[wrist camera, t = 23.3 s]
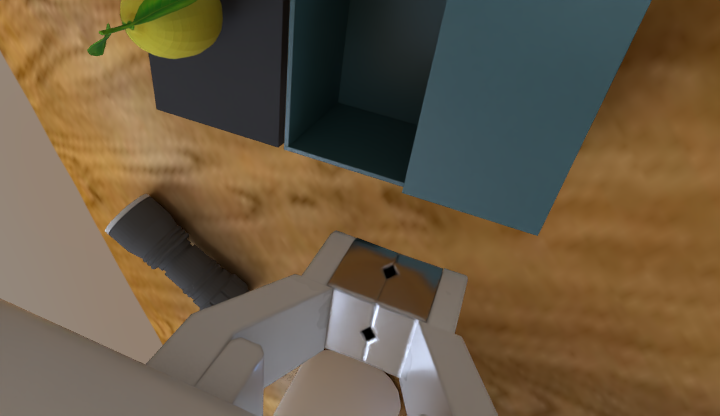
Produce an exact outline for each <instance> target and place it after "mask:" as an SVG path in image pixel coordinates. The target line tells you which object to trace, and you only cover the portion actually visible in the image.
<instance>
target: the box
mask: <svg viewBox="0 0 720 416" xmlns="http://www.w3.org/2000/svg"><path fill="white" fill-rule="evenodd" d="M446 2H447V0H290V16H289V41H288V65H287V90H286V115H285V140H284V150H288V151H291V152H294V153H297V154H300V155H303V156H307V157H310V158H313V159H316V160H319V161H323V162H326V163H329V164H332V165H335V166H338V167H342V168H345V169H348V170H351V171H354V172H357V173H361V174H364V175H367V176H370V177H373V178H377V179H380V180H383V181H386V182H389V183H392V184H396V185H399V186H402V187H404V183H405V178H406V174H407V170H408V165H409V161H410V157H411V152H412V148H413V144H414V140H415V135H416V131H417V127H418V122H419V118H420V114H421V109H422V105H423V101H424V97H425V92H426V88H427V84H428V79H429V75H430V71H431V66H432V62H433V58H434V54H435V49H436V45H437V41H438V36H439V32H440V28H441V23H442V19H443V15H444V10H445V6H446Z"/></svg>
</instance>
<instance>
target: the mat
mask: <svg viewBox="0 0 720 416" xmlns="http://www.w3.org/2000/svg"><path fill="white" fill-rule="evenodd" d="M220 2H221V5H222V15H223V22H222V29H221V32H220V34H219V36H218V37H217V39H216V41H215V42H214V43H213V45H211V46H210V47H209V48H207V49H206V50H204V51H203V52H201V53H200V54H197V55H194V56H190V57H184V58H178V59H169V58H164V57H159V56H156V55H153V54H151V53H149V59H150V66H151V73H152V80H153V87H154V94H155V101H156V108H157V109H158V110H161V111H164V112H167V113H170V114H174V115H177V116H180V117H183V118H186V119H189V120H193V121H196V122H199V123H202V124H205V125H209V126H212V127H215V128H218V129H221V130H224V131H228V132H231V133H234V134H237V135H240V136H243V137H247V138H250V139H253V140H256V141H259V142H263V143H266V144H269V145H272V146H275V147H279V146H281V145H282V144H283V143H284V129H285V103H286V78H287V53H288V28H289V3H290V0H220Z"/></svg>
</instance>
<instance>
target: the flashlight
mask: <svg viewBox="0 0 720 416" xmlns="http://www.w3.org/2000/svg"><path fill="white" fill-rule="evenodd" d="M105 232H106V233H108V234H109V235H110V236H111V237H112V238H113V239H115V240H116V241H117V242H118V243H119V244H120V245H121V246H123V247H124V248H125V249H126V250H127V251H129V252H130V253H132V254H134V255H136V256H138V257H140V258H142V259H143V261H144V262H147V265H149V266H151V268H152V269H156V268H157V267H159V268H160V269H161V270H162V271H163V270H165V271H166V273H165V275H166V276H167V277H168V278H169V279H171V280H172V281H173V282H174V283H175V284H176V285H177V286H179V287H180V288H181V289H182V290H183V293H184V294H187V295H188V297H191V298H192V299H194V301H193V302H194V303H195V304H196V305H198V306H199V307H200V311H201V310H203V309H206V308H208V307H211V306H214V305H216V304H219V303H221V302H224V301H226V300H229V299H232V298H234V297H237V296H239V295H242V294H244V293H247V292H250V291H249V290H248V285H246V284H245V283H244V282H243V281H242V280H241V279H240V278H239V277H238V276H236V275H235V274H230V273H229V272H228V271H227V270H226V269H222V268H221V267H220V264H217V263H216V261H215V260H212V259H211V258H210V257H209V256H207V255H206V254H205V253H204V252H203V251H202V250H201V249H200V248H198V247H197V246H196V245H195V244H194V245H193V246H192V245H191V244H190V243H191V242H190V241H189V240H188V239H187V238H188V237H189V234H188V233H185V230H184V229H181V226H177V224H176V223H175V221H174V220H173V218H172V217H171V215H170V214H169V213H168V212H167V211H166V210H165V209H164V208H163V207H162V206H161V205H159V204H158V203H157V202H156V201H155V200H154V199H153V198H152V197H151V196H149V195H148V194H144V195H142V196H140V197H139V198H137V199H136V200H134V201H133V202H132V203H130V204H129V205H128V206H127V207H125V208H124V209H123V210H122V211H121V212H120V213H119V214H118V215H117V216H116V217H115V218H114V219H113V220H112V221H111V222H110V223H109V225H108V226H107V228H106V229H105Z"/></svg>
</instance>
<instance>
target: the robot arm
mask: <svg viewBox="0 0 720 416" xmlns="http://www.w3.org/2000/svg"><path fill="white" fill-rule="evenodd" d="M467 281H468V278H467V276H466V275H463V274H460V273H457V272H454V271H451V270H448V269H445V268H444V270H443V268H440V267H437V266H434V265H431V264H428V263H426V262H423V261H420V260H417V259H414V258H411V257H408V256H405V255H402V254H399V253H396V252H394V251H391V250H388V249H386V248H383V247H380V246H378V245H375V244H372V243H370V242H367V241H364V240H362V239H359V238H355V237H352V236H350V235H347V234H344V233H342V232H339V231H334V232H333V233H331V234H330V236H329V237H328V239H327V240H326V242H325V243H324V244H323V246H322V247H321V249H320V250H319V252H318V253H317V254H316V256H315V257H314V259H313V260H312V262H311V263H310V264H309V266H308V267H307V269H306V270H305V271H304V273H303V274H302V276H300V275H297V274H293V275H291V276H288V277H286V278H283V279H281V280H278V281H275V282H273V283H270V284H268V285H265V286H262V287H260V288H257V289H255V290H252V291H250V292H247V293H244V294H242V295H239V296H237V297H234V298H232V299H229V300H226V301H224V302H221V303H219V304H216V305H214V306H211V307H208V308H206V309H203V310H201V311H198V312H196V313H193V314H191V315H190V316H189V317H188V318H187V319H186V321H185V322H184V323H183V324H182V325H181V326H180V327H179V328H178V329H177V330H176V332H175V333H174V334H173V335H172V336H171V337H170V338H169V339H168V340H167V341H166V343H165V344H164V345H163V346H162V347H161V348H160V349H159V350H158V351H157V353H156V354H155V355H154V356H153V357H152V358H151V359H150V360H149V361H148V362H147V363H146V365H145V364H143V363H141V362H138V361H136V360H134V359H132V358H130V357H128V356H125V355H123V354H121V353H119V352H117V351H114V350H112V349H110V348H108V347H106V346H103V345H101V344H99V343H97V342H95V341H93V340H90V339H88V338H86V337H84V336H81V335H79V334H77V333H75V332H73V331H71V330H68V329H66V328H64V327H62V326H60V325H57V324H55V323H53V322H51V321H49V320H46V319H44V318H42V317H40V316H37V315H35V314H33V313H31V312H29V311H27V310H24V309H22V308H20V307H18V306H16V305H14V304H11V303H9V302H7V301H5V300H2V299H0V416H263V389H264V388H265V387H267V386H268V385H270V384H271V383H273V382H275V381H276V380H278V379H279V378H281V377H282V376H284V375H286V374H287V373H289V372H290V371H292V370H293V369H295V368H296V367H298V366H300V365H301V364H303V363H304V362H306V361H307V360H309V359H311V358H312V357H314V356H315V355H317V354H318V353H320V352H322V351H323V350H324V348H327V349H329V350H332V351H335V352H337V353H340V354H343V355H345V356H348V357H351V358H353V359H356V360H359V361H361V362H364V363H366V364H368V365H370V366H373V367H375V368H377V369H380V370H382V371H384V372H386V373H389V374H391V375H393V376H396V377H398V378H400V379H399V382H400V386H401V390H402V395H403V399H404V403H405V408H406V412H407V416H498V414H497V412H496V410H495V408H494V406H493V403H492V401H491V399H490V397H489V395H488V392H487V390H486V388H485V386H484V384H483V382H482V379H481V377H480V375H479V373H478V371H477V369H476V366H475V364H474V362H473V360H472V358H471V356H470V353H469V351H468V349H467V347H466V345H465V342H464V340H463V338H462V337H461V336H459V335H456V334H455V330H456V326H457V322H458V318H459V314H460V310H461V306H462V301H463V297H464V293H465V289H466V285H467Z"/></svg>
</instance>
